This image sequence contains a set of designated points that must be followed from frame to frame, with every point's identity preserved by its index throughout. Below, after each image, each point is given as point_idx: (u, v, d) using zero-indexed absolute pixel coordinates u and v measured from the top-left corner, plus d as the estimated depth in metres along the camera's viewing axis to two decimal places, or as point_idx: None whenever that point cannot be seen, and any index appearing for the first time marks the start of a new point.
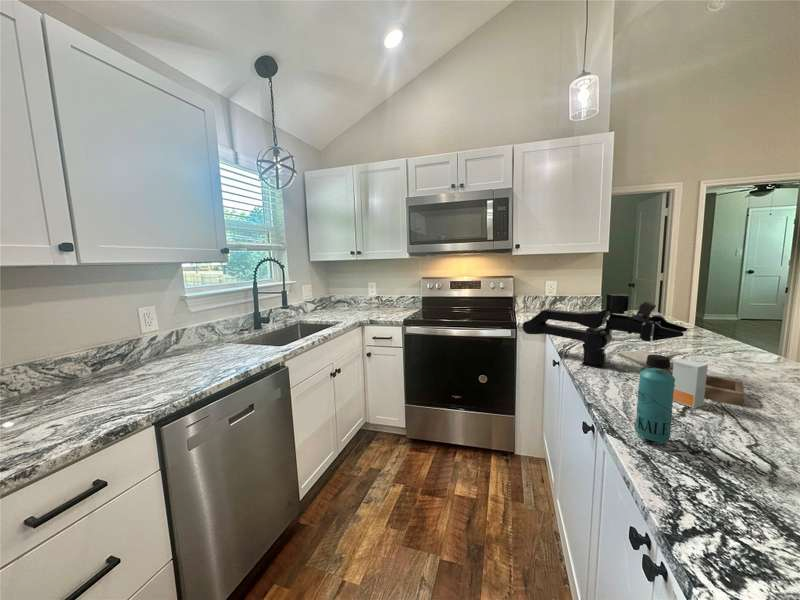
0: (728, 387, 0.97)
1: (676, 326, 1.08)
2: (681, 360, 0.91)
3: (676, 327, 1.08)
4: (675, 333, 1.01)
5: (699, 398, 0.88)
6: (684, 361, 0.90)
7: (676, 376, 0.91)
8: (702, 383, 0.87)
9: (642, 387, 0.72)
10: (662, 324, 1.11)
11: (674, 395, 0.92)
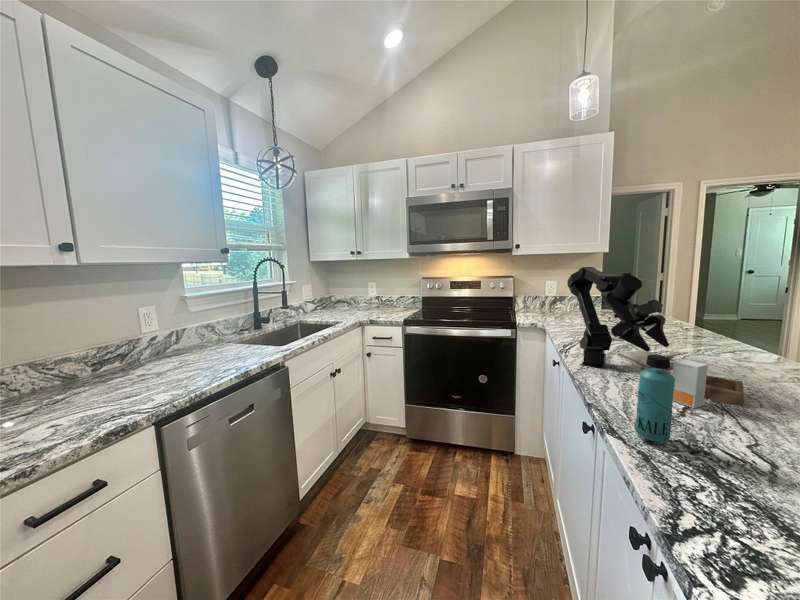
0: (728, 387, 0.97)
1: (662, 338, 0.99)
2: (681, 360, 0.91)
3: (661, 339, 0.99)
4: (643, 345, 0.95)
5: (699, 398, 0.88)
6: (684, 361, 0.90)
7: (676, 376, 0.91)
8: (702, 383, 0.87)
9: (642, 387, 0.72)
10: (654, 328, 1.01)
11: (674, 395, 0.92)
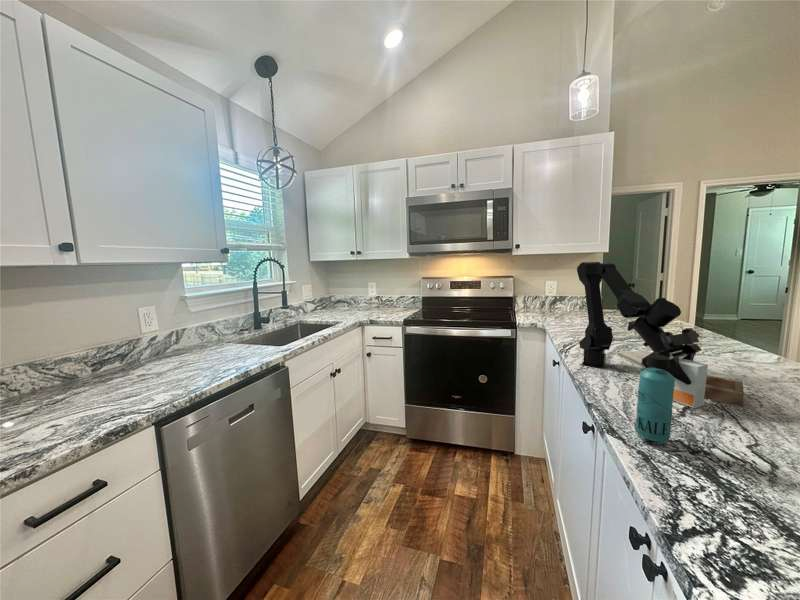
0: (728, 387, 0.97)
1: None
2: (681, 360, 0.91)
3: None
4: (683, 378, 0.88)
5: (699, 398, 0.88)
6: (684, 361, 0.90)
7: None
8: (702, 383, 0.87)
9: (642, 387, 0.72)
10: None
11: (674, 395, 0.92)
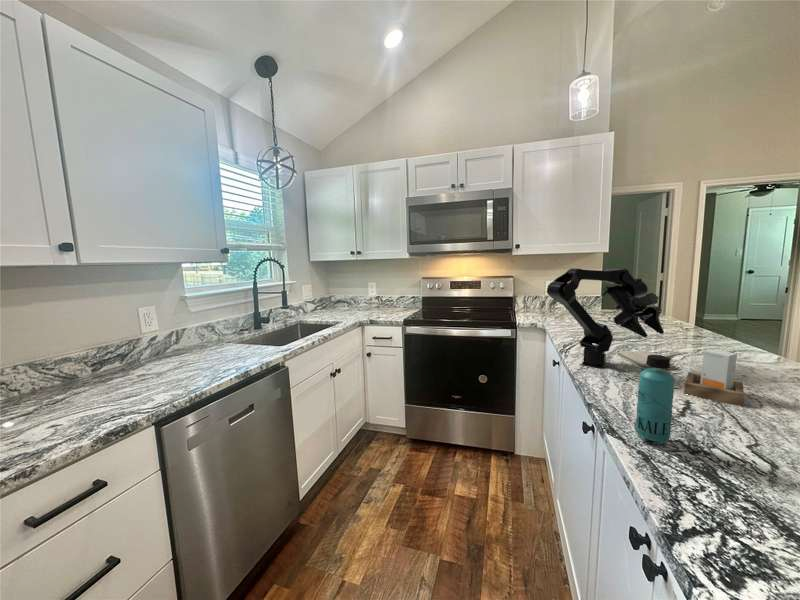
0: None
1: (658, 326, 1.15)
2: (710, 350, 0.95)
3: (657, 327, 1.15)
4: (641, 332, 1.11)
5: (729, 386, 0.92)
6: (714, 351, 0.95)
7: (706, 365, 0.95)
8: (732, 371, 0.92)
9: (642, 387, 0.72)
10: (651, 317, 1.17)
11: (704, 383, 0.96)
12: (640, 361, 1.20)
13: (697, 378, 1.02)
